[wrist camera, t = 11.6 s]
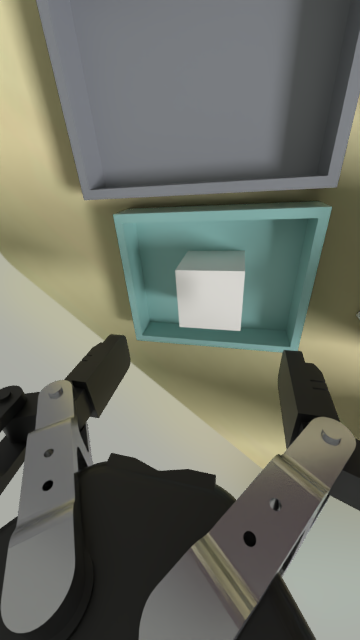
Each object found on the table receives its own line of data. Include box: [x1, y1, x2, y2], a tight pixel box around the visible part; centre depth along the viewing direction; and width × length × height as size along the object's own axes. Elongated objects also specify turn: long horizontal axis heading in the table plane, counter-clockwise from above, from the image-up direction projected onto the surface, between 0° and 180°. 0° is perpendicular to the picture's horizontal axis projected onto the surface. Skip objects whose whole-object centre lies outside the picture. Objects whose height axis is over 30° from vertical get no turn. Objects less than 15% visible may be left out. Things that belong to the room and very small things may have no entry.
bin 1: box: [36, 0, 360, 200], centre depth 14 cm, size 16×11×3 cm
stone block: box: [175, 251, 245, 331], centre depth 19 cm, size 4×4×4 cm
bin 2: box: [113, 201, 332, 352], centre depth 20 cm, size 14×11×3 cm
